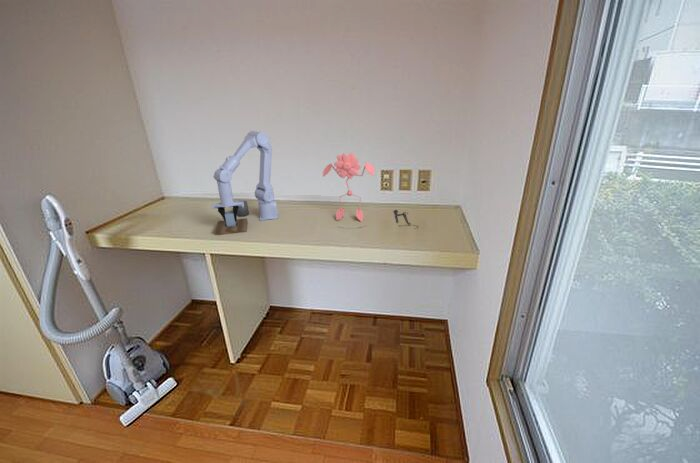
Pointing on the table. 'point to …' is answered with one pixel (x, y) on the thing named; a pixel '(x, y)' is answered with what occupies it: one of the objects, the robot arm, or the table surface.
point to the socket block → (231, 227)
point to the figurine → (348, 168)
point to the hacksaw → (404, 217)
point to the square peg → (230, 218)
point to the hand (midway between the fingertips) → (230, 221)
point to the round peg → (243, 210)
